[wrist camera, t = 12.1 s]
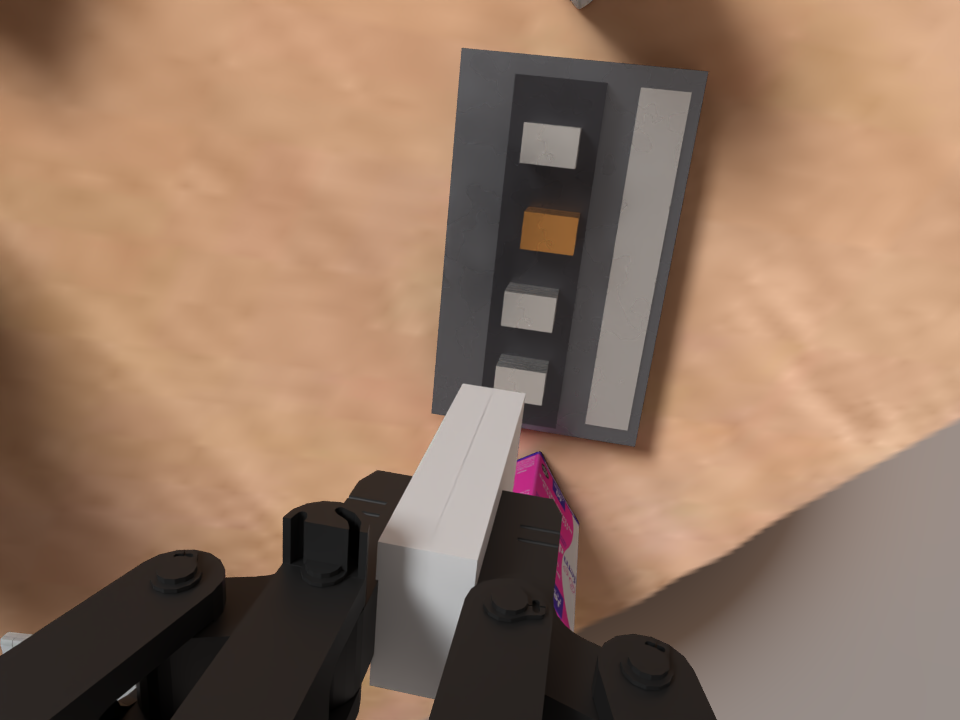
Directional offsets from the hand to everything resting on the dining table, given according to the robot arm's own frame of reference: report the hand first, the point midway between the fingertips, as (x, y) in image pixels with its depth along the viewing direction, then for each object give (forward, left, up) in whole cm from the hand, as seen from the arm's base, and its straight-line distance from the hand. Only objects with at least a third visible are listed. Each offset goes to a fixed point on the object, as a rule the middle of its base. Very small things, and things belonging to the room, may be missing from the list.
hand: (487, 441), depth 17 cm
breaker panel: (0, 0, -24) cm, 24 cm away
